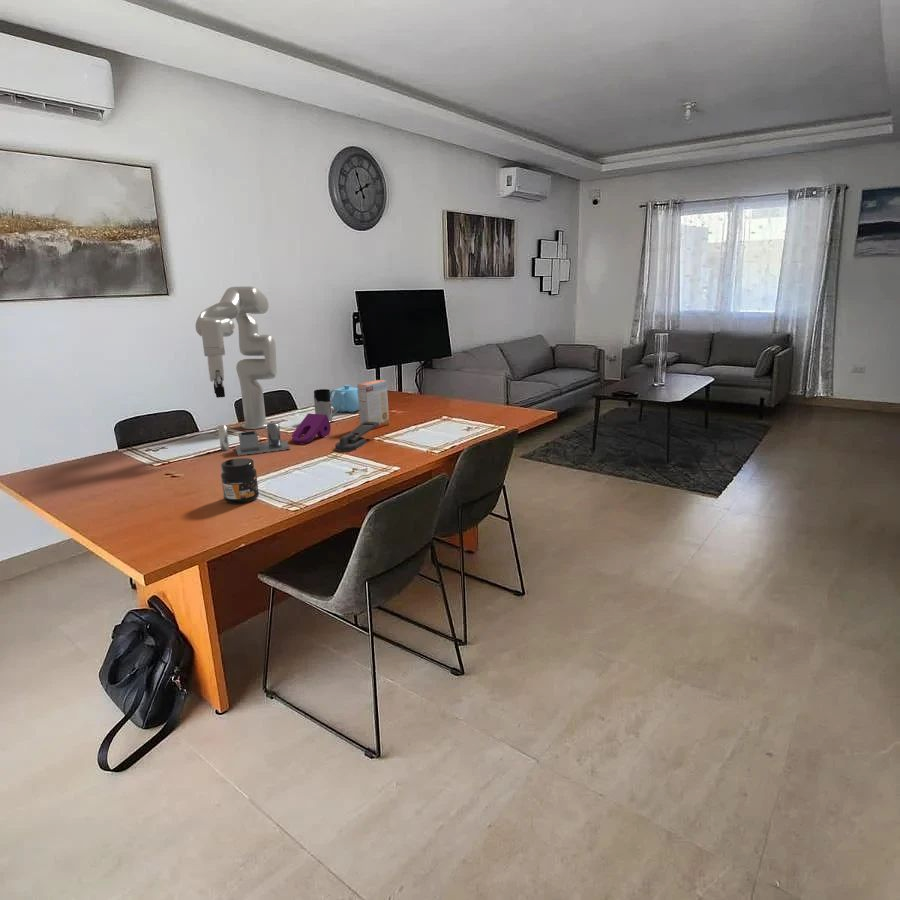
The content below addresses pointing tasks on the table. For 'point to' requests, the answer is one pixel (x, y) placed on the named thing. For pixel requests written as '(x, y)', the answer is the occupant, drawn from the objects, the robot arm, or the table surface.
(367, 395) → the cracker box
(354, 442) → the zipper pull
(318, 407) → the black and grey mug
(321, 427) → the mounting bracket
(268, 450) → the grey fixture stand
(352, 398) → the decorative pot
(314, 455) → the table surface
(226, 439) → the locking pin
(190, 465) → the table surface
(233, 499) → the supplement container
